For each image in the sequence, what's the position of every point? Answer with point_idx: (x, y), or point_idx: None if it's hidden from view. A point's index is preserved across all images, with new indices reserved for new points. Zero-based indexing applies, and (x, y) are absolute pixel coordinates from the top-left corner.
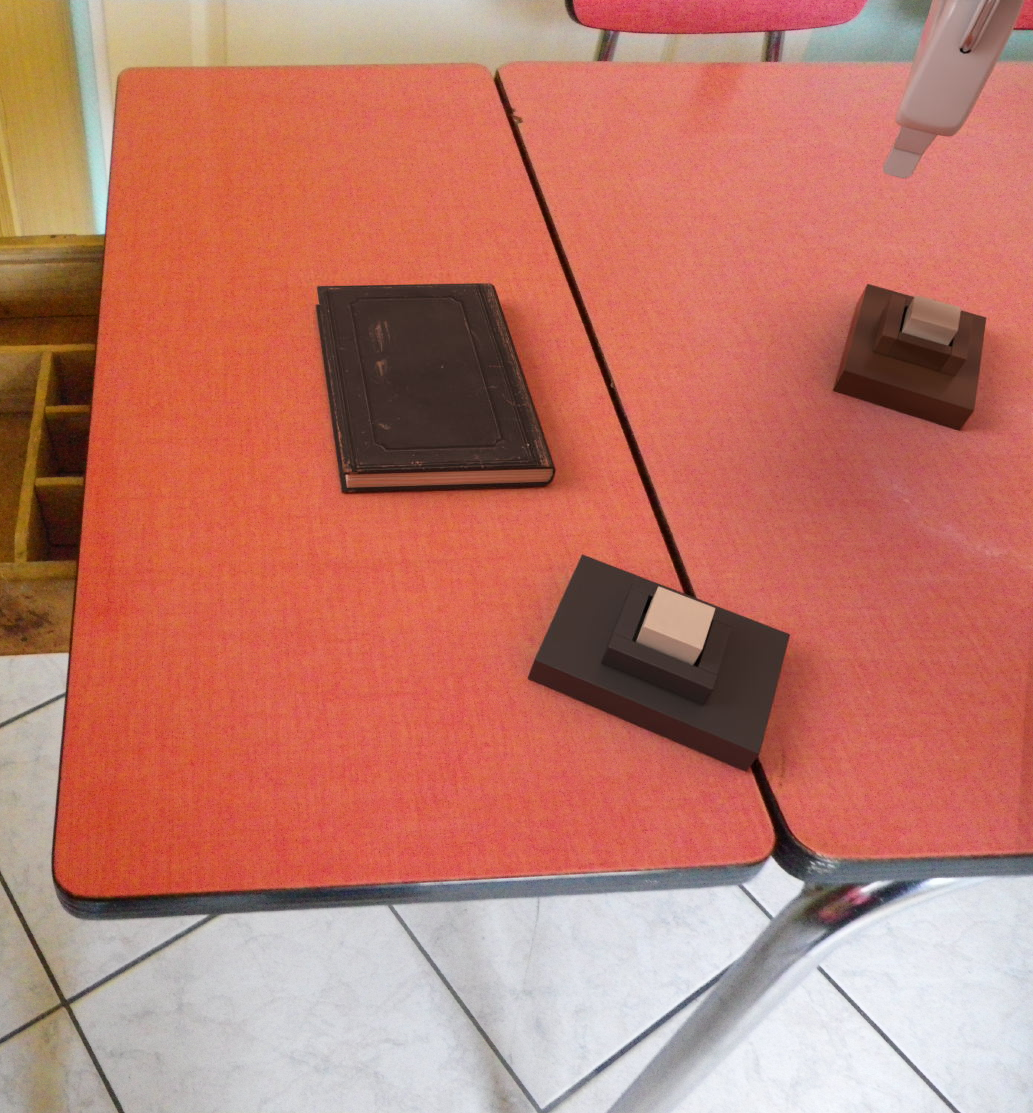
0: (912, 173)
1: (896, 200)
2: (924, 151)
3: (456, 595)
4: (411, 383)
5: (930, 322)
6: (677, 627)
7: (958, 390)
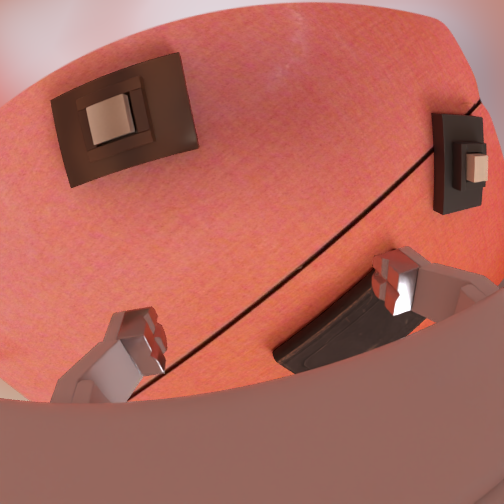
0: (409, 247)
1: None
2: (441, 265)
3: (453, 242)
4: (377, 333)
5: (126, 115)
6: (484, 168)
7: (160, 69)
